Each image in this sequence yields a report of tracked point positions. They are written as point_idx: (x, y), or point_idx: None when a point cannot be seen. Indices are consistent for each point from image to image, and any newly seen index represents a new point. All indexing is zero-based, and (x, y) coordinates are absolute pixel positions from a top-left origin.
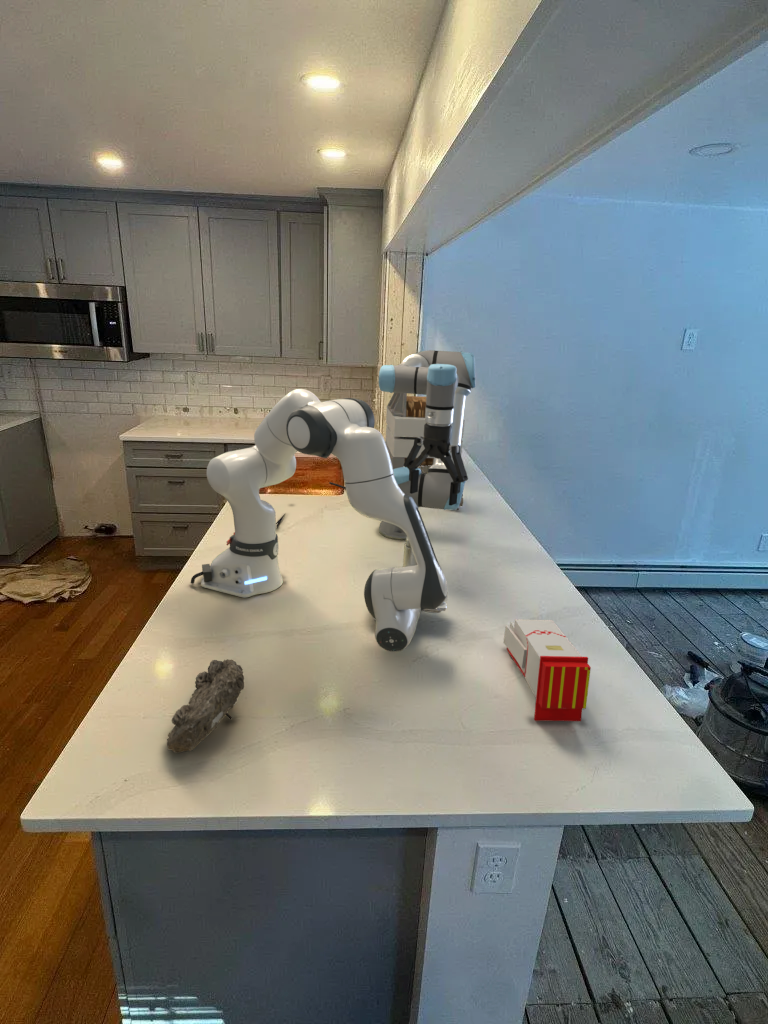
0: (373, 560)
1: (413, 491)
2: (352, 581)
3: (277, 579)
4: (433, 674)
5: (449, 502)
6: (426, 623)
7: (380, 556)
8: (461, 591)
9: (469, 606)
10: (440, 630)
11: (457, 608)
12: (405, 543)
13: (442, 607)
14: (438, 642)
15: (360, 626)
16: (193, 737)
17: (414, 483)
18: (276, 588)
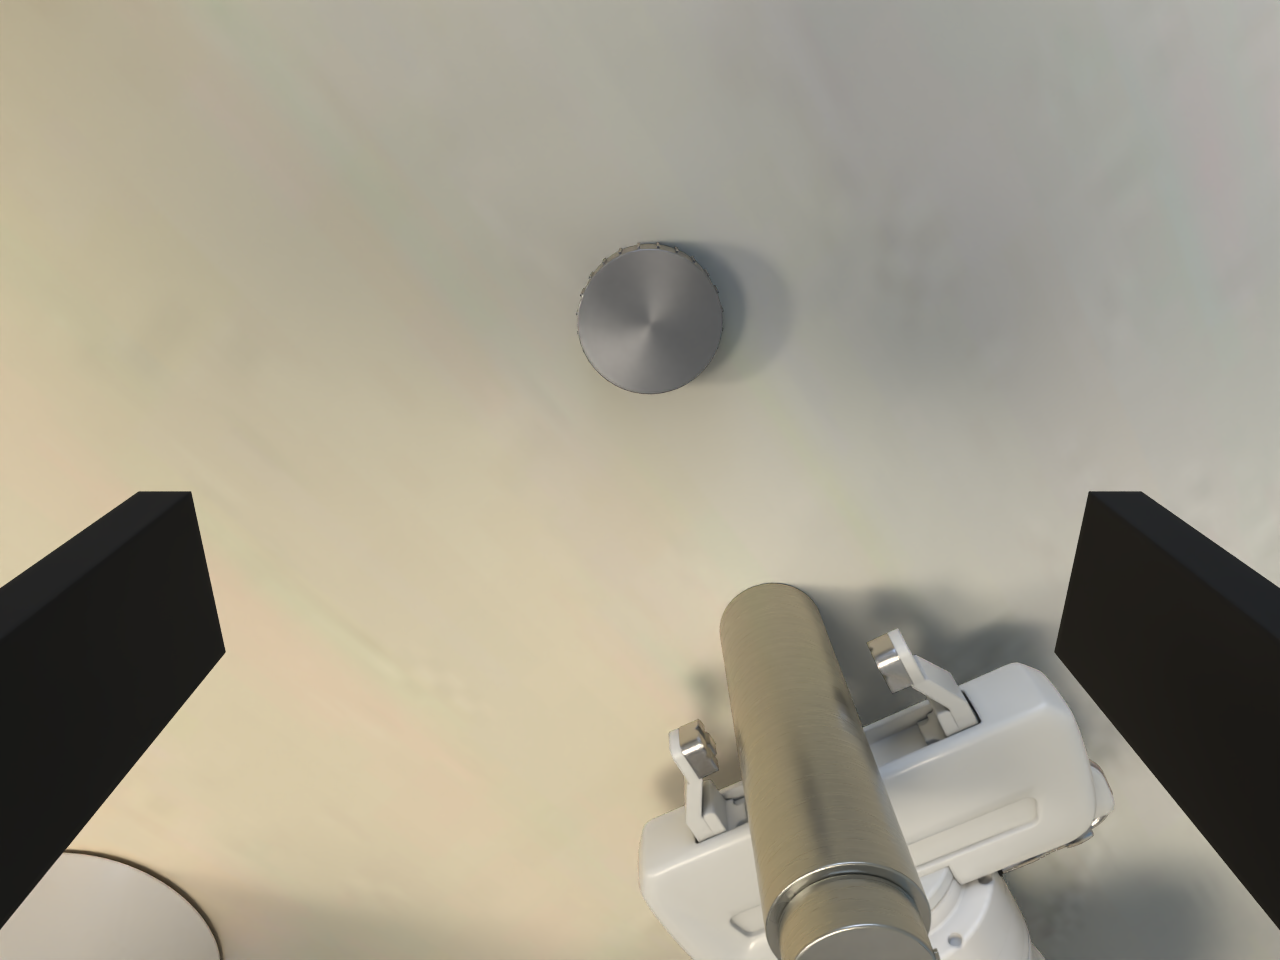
0: (207, 356)
1: (201, 633)
2: (370, 654)
3: (174, 953)
4: (1150, 945)
5: (1089, 683)
6: None
7: (178, 265)
8: (933, 300)
9: (1060, 430)
10: None
11: (1010, 497)
12: (777, 948)
13: (1098, 813)
14: None
15: None
16: None
17: (99, 719)
18: (212, 937)
